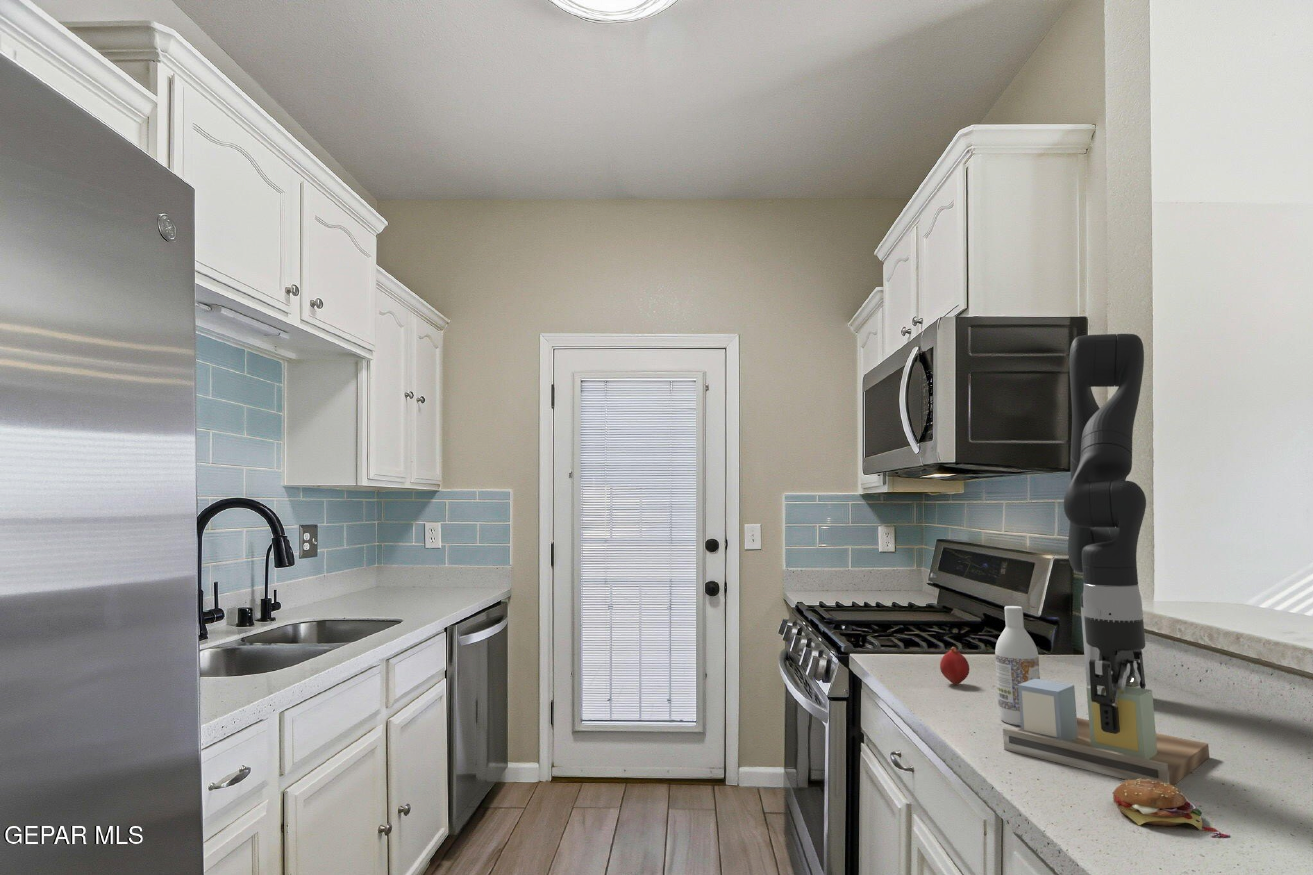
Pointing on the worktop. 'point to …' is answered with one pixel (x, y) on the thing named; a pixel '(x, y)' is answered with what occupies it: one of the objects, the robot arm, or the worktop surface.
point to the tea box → (1126, 724)
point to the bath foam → (1014, 664)
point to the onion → (954, 666)
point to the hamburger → (1157, 805)
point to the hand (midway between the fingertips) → (1121, 726)
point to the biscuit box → (1048, 709)
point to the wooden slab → (1112, 755)
